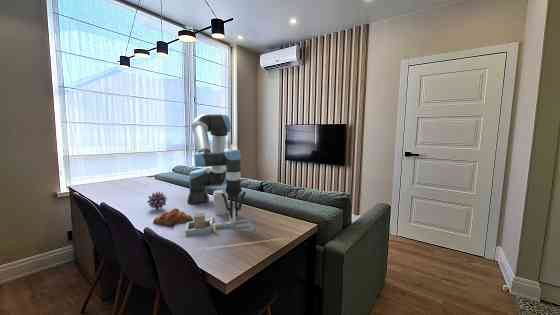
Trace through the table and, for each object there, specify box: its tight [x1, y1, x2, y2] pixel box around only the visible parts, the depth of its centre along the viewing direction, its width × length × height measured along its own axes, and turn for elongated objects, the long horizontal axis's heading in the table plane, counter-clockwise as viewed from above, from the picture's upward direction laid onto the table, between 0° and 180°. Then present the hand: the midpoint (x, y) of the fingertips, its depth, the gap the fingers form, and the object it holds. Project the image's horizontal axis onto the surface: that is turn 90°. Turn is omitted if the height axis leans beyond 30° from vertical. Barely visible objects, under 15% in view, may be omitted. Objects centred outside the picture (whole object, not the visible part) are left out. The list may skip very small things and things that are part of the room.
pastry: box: [152, 208, 194, 227], centre depth 135 cm, size 17×15×8 cm
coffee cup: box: [212, 189, 229, 216], centre depth 147 cm, size 10×10×15 cm
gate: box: [209, 215, 233, 231], centre depth 126 cm, size 8×12×5 cm
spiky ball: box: [146, 191, 168, 210], centre depth 156 cm, size 12×12×12 cm
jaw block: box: [193, 211, 206, 229], centre depth 123 cm, size 6×5×8 cm
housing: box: [179, 216, 255, 239], centre depth 126 cm, size 16×36×4 cm, turn 107°
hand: (233, 222), depth 128 cm, fingers closed
